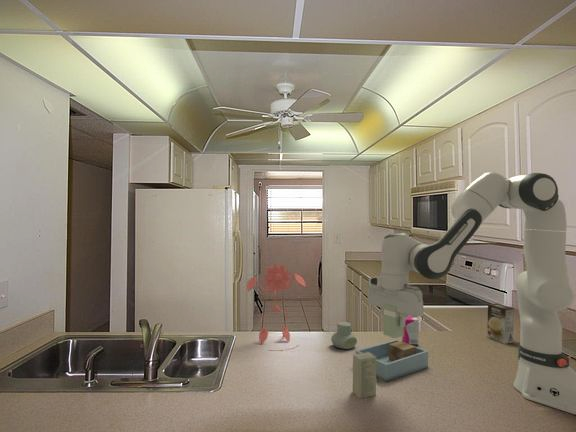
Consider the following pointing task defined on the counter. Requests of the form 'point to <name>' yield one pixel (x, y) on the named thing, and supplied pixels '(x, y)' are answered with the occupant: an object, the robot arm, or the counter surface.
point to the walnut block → (400, 350)
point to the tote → (397, 368)
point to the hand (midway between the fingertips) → (393, 324)
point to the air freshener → (344, 336)
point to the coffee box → (500, 323)
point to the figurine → (275, 281)
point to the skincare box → (364, 374)
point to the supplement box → (411, 331)
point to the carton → (392, 322)
